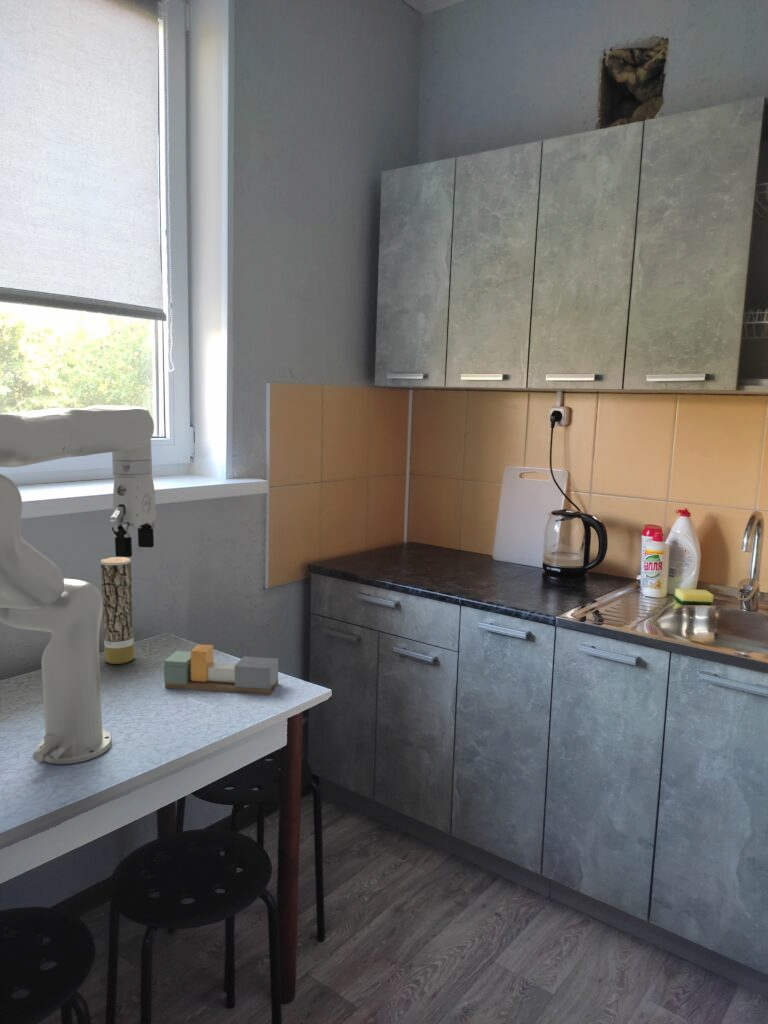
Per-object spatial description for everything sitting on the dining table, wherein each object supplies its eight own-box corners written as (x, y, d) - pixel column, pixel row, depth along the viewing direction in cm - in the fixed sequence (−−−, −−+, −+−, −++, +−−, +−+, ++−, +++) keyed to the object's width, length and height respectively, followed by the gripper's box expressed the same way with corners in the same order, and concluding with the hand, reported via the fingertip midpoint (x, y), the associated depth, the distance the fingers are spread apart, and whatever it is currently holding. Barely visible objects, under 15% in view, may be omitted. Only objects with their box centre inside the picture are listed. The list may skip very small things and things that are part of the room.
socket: (186, 684, 161) (185, 662, 161) (164, 682, 162) (163, 661, 161) (198, 672, 168) (197, 651, 168) (177, 671, 169) (176, 650, 168)
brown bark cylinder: (115, 667, 174) (111, 564, 170) (99, 660, 178) (94, 560, 174) (140, 659, 180) (136, 559, 176) (124, 653, 184) (120, 555, 180)
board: (270, 695, 159) (270, 689, 159) (165, 687, 163) (164, 682, 162) (278, 683, 166) (278, 678, 166) (177, 676, 169) (177, 671, 169)
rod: (239, 684, 161) (239, 653, 160) (173, 679, 163) (172, 649, 162) (245, 676, 166) (245, 647, 164) (181, 672, 167) (180, 643, 166)
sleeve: (270, 689, 159) (270, 668, 159) (234, 687, 160) (234, 666, 160) (278, 678, 166) (278, 658, 165) (243, 676, 167) (243, 656, 166)
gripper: (129, 473, 139) (132, 561, 141) (168, 465, 156) (170, 544, 158) (92, 472, 140) (96, 559, 142) (134, 464, 157) (137, 542, 159)
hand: (135, 551), depth 150 cm, fingers open, 9 cm apart
